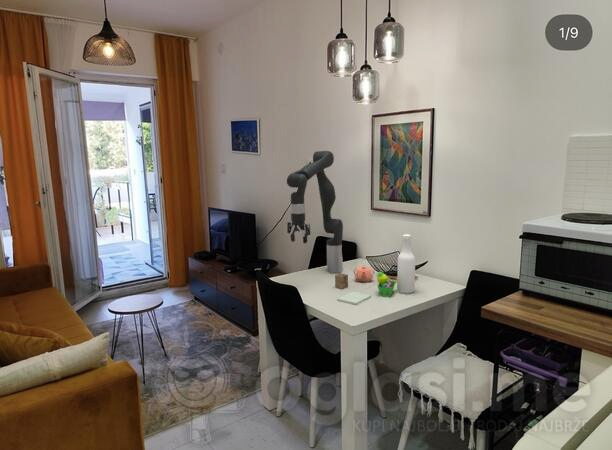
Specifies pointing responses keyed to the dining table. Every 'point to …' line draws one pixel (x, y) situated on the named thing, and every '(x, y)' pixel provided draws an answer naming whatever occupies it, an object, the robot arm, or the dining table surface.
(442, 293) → the dining table surface
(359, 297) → the sage board
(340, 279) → the walnut block
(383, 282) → the fruit basket
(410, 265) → the alcohol
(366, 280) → the teapot
